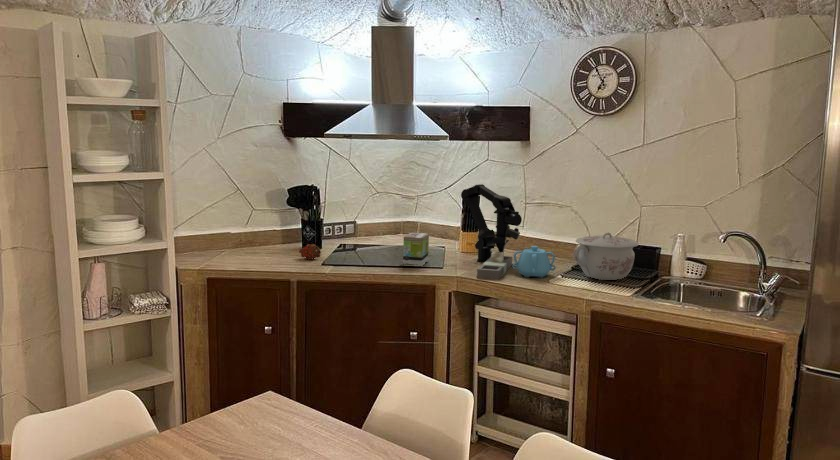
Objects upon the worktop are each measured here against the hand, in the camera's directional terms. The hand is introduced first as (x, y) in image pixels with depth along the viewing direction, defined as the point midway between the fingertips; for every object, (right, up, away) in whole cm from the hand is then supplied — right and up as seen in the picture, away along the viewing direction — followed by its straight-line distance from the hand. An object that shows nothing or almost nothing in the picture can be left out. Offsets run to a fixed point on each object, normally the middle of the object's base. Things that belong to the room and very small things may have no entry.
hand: (501, 254), depth 326 cm
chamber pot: (+44, -10, -25) cm, 51 cm away
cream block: (-3, -3, -10) cm, 11 cm away
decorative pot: (+12, -9, -21) cm, 26 cm away
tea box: (-42, -5, +1) cm, 42 cm away
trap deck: (-4, -7, -13) cm, 16 cm away
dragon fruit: (-96, -3, +10) cm, 96 cm away
